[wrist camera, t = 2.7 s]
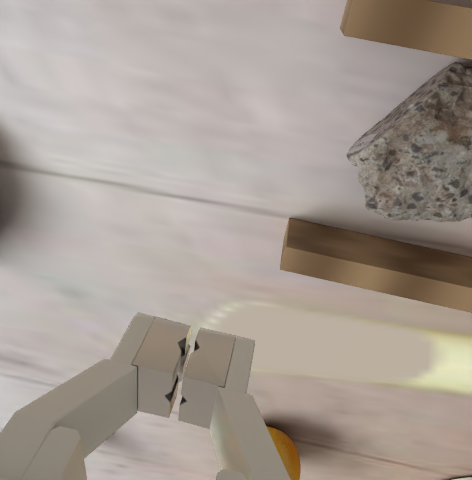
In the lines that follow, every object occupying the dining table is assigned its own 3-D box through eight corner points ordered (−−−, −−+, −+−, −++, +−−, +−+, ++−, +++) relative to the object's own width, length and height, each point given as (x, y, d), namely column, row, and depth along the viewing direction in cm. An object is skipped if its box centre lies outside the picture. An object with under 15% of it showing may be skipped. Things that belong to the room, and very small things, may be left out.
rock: (329, 157, 27) (331, 182, 24) (481, 24, 21) (512, 32, 18) (410, 237, 29) (422, 270, 26) (566, 135, 24) (607, 161, 20)
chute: (693, 49, 20) (766, 61, 17) (513, 289, 30) (537, 327, 27) (350, -13, 21) (357, -13, 18) (283, 239, 31) (279, 269, 28)
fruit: (298, 458, 48) (295, 533, 41) (234, 448, 49) (221, 519, 43) (304, 416, 43) (301, 494, 37) (232, 406, 44) (218, 479, 38)
